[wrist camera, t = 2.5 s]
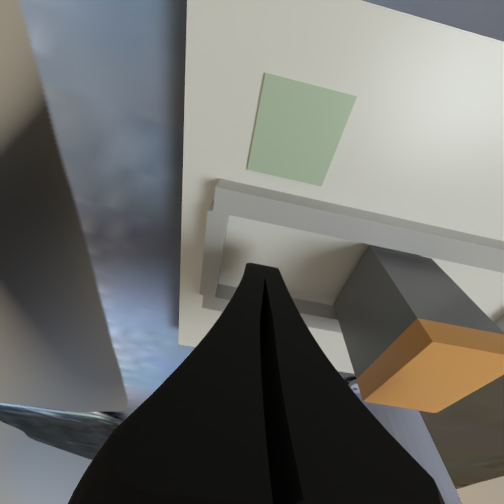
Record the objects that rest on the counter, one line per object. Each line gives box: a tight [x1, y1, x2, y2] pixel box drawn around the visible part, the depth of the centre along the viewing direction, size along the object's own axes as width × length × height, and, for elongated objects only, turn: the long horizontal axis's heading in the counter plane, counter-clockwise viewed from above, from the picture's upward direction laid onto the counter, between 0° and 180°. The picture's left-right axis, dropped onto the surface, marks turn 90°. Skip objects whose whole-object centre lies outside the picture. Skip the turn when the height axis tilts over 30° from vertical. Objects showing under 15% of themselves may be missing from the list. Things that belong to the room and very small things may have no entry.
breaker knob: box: [333, 246, 504, 413], centre depth 9 cm, size 4×3×5 cm
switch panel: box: [178, 0, 504, 374], centre depth 12 cm, size 18×20×2 cm
